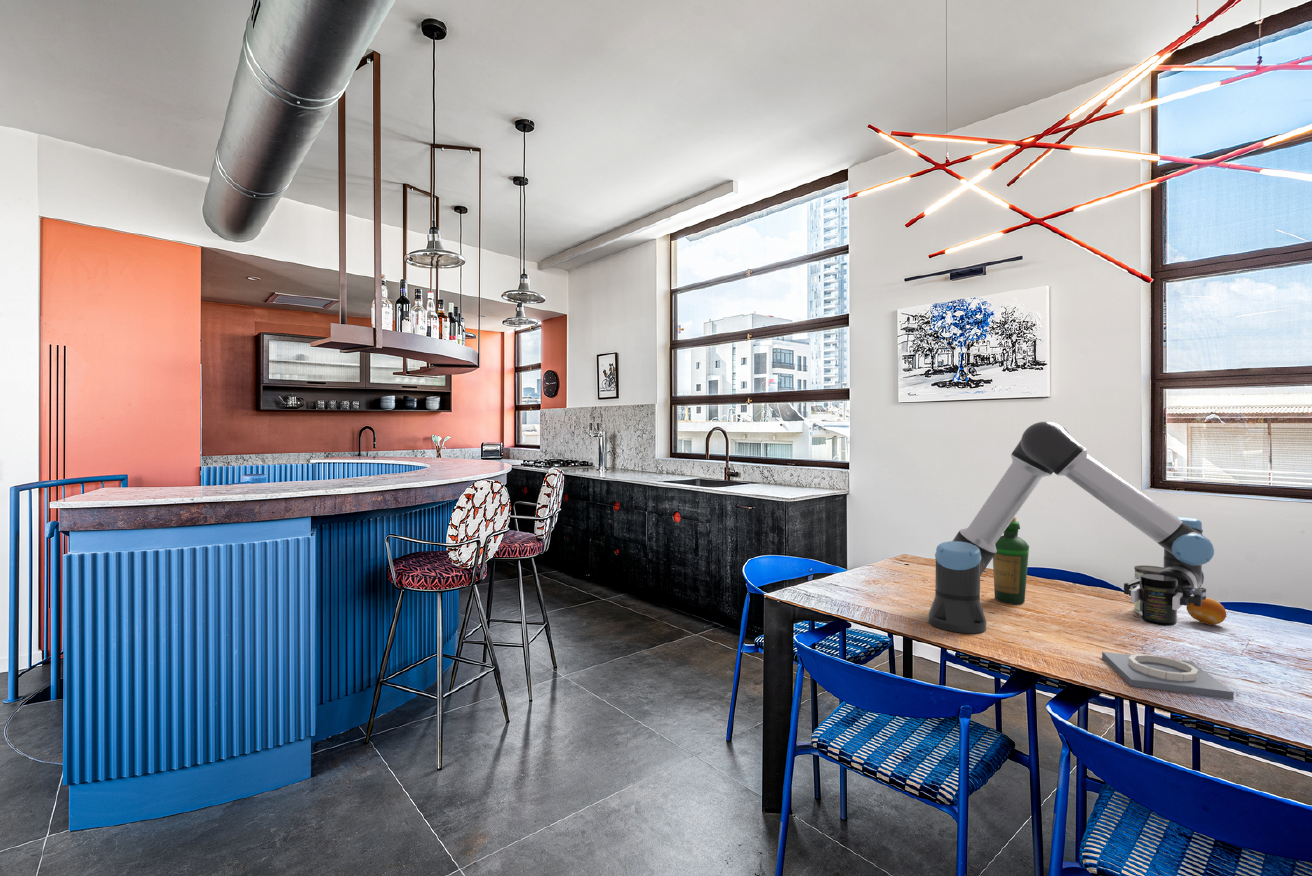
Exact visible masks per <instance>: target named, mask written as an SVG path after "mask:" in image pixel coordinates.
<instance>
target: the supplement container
mask: <svg viewBox="0 0 1312 876" xmlns="http://www.w3.org/2000/svg"><path fill="white" fill-rule="evenodd" d="M1177 587H1178V586H1177V579H1176V578H1173V577H1169V576H1163V575H1155V574H1141V575H1140V614H1139V617H1140V620H1142V622H1143V623H1144V622H1145V623H1147V624H1150V625H1153V626H1155V625H1156V626H1162V627H1173V626H1175V625H1177V623H1178V610H1172V603H1173V597H1174V596H1175V595H1176V594H1177Z"/></svg>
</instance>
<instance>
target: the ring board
mask: <svg viewBox="0 0 1312 876" xmlns="http://www.w3.org/2000/svg"><path fill="white" fill-rule="evenodd" d="M1101 658H1102V659H1103V660H1104V661H1105V663H1107V664H1108V665H1109V664H1110V665H1109V666H1110V667H1111V668H1112V669H1113V670H1114V671H1115V672H1116V673H1117V674H1118V675H1119V676H1120V677H1121V678H1122V679H1123V680H1124V681H1125V682H1126V683H1128V685H1129V686H1131V687H1134V688H1141V689H1142V688H1143V689H1151V690H1159V691H1166V692H1173V693H1174V692H1175V693H1181V692H1182V693H1183V694H1190V695H1197V696H1198V695H1200V696H1205V697H1215V698H1221V699H1222V698H1224V699H1229V700H1230V699H1231V700H1234V697H1235V696H1234V694H1235V692H1234V691H1233V690H1232V689H1231V688H1229V687H1227V686H1226V685H1225V684H1223V683H1222V682H1220V681H1219V680H1217V679H1216V678H1215V677H1214V676H1212V675H1211V674H1210V673H1208V672H1206V671H1205V670H1203V669H1202V668H1201V667H1200V666H1198V665H1197V664H1195V663H1194V662H1193V661H1189V660H1180V659H1175V658H1172V657H1166V656H1164V655H1163V656H1162V655H1156V654H1147V653H1138V654H1137V653H1134V654H1127V653H1119V652H1118V653H1116V652H1108V651H1102V652H1101Z"/></svg>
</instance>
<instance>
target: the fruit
mask: <svg viewBox="0 0 1312 876" xmlns="http://www.w3.org/2000/svg"><path fill="white" fill-rule="evenodd" d="M1186 611H1187V613H1188V614H1189V616H1190V617H1191V618H1193V619H1194V620H1196V621H1198V622H1200V623H1202V624H1205V625H1210V626H1213V625H1214V626H1215V625H1219V624H1221V623H1223V622H1224V621H1225V620H1226V618H1227V611H1226V609H1225V607H1224V605H1222V604H1221V603H1220V602H1219V601H1217V600H1216V599H1213V598H1210V597H1207V596H1206V599H1204V600H1202V604H1201V606H1200V607H1198V606H1195V605H1194V604H1193V603H1190V605H1187V606H1186Z"/></svg>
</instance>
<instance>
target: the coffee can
mask: <svg viewBox="0 0 1312 876" xmlns="http://www.w3.org/2000/svg"><path fill="white" fill-rule="evenodd" d="M1162 570H1164V566H1163V567H1162V566H1157V565H1156V566H1155V565H1135V566H1134V578H1140V575H1141V574H1155V575H1157V574H1158V573H1160V572H1161V571H1162ZM1133 604H1134V609H1133V612H1135V613H1137V614H1139V615H1140V600H1138V601H1137V602H1136V603H1133Z"/></svg>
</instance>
